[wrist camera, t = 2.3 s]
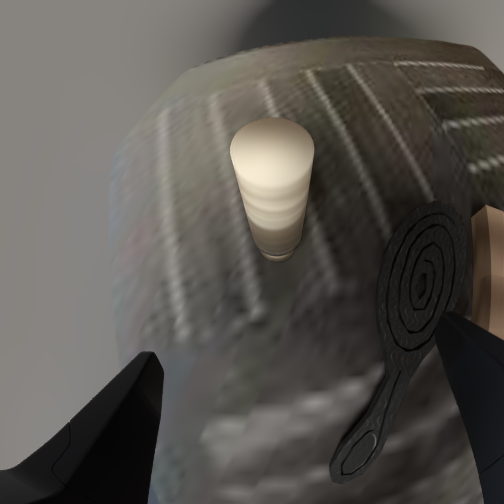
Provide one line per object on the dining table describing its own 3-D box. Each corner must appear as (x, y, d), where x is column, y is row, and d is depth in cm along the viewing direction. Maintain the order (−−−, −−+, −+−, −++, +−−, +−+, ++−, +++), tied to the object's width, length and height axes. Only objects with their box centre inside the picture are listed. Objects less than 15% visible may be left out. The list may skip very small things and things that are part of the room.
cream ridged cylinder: (295, 270, 23) (309, 189, 11) (250, 261, 23) (218, 175, 11) (303, 228, 24) (319, 123, 12) (260, 220, 24) (241, 113, 12)
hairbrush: (291, 481, 15) (411, 179, 20) (290, 461, 19) (397, 198, 24) (384, 501, 14) (486, 219, 18) (373, 482, 17) (466, 233, 22)
